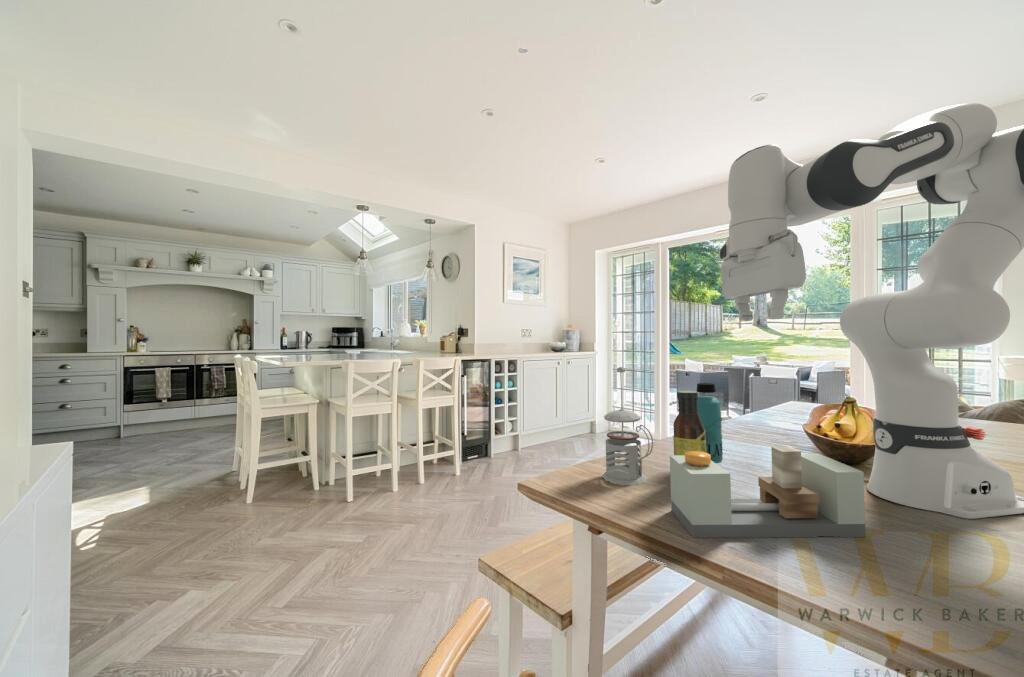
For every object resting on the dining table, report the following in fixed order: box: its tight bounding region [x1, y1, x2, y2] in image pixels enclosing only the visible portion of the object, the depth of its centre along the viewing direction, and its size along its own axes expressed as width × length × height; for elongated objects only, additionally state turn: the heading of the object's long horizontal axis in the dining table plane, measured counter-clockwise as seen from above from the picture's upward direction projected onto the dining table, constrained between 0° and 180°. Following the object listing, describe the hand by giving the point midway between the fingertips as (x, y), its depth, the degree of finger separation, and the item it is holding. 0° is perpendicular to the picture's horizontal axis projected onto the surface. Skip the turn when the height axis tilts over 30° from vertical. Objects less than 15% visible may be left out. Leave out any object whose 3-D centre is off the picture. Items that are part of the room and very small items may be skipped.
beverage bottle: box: [696, 382, 724, 464], centre depth 98 cm, size 6×7×20 cm
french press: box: [602, 366, 654, 486], centre depth 91 cm, size 10×12×25 cm
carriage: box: [757, 445, 819, 518], centre depth 68 cm, size 5×8×10 cm, turn 177°
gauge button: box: [685, 451, 711, 466], centre depth 69 cm, size 4×4×6 cm
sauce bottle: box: [672, 390, 706, 456], centre depth 86 cm, size 7×6×20 cm
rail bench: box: [669, 452, 867, 539], centre depth 68 cm, size 26×10×10 cm, turn 87°
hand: (759, 320), depth 72 cm, fingers open, 8 cm apart
